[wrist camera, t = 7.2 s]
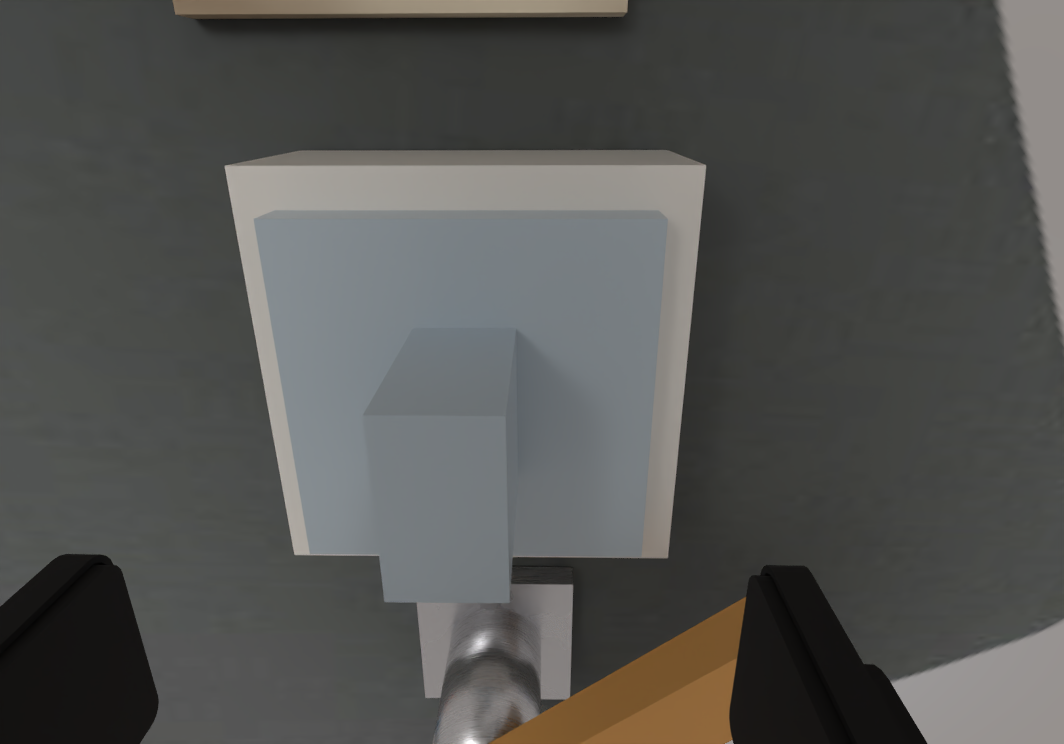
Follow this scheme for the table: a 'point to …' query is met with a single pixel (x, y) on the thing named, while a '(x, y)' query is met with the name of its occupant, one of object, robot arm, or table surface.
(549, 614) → the grey square flange base
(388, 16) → the pad
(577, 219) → the cover
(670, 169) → the housing
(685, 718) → the latch
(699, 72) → the table surface
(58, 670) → the robot arm
